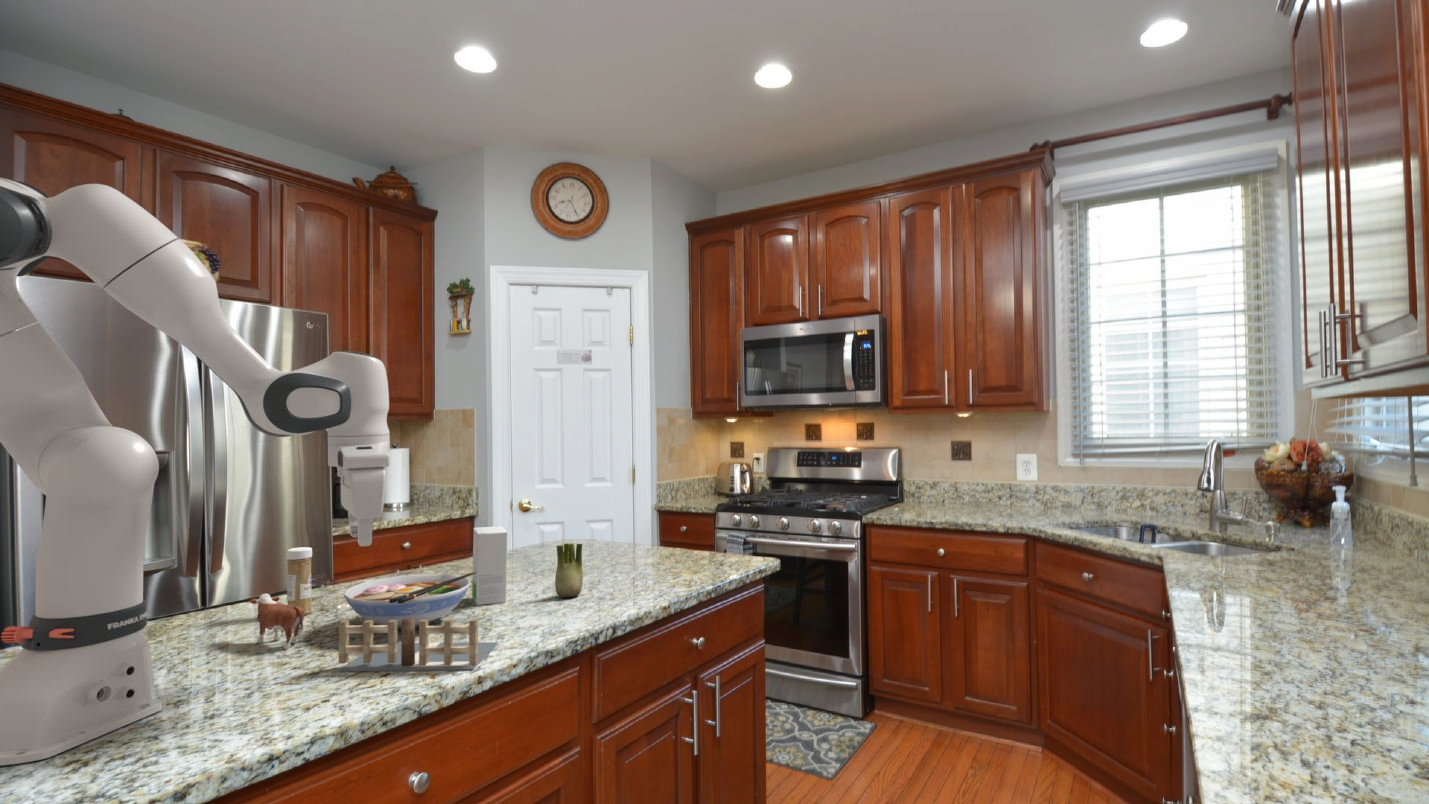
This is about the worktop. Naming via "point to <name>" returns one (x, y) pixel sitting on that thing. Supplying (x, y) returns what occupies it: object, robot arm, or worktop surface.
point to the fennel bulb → (569, 570)
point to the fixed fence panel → (448, 641)
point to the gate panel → (367, 640)
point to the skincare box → (489, 565)
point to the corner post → (408, 642)
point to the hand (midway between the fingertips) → (360, 540)
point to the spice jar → (299, 578)
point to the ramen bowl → (407, 597)
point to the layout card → (433, 660)
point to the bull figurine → (279, 618)
